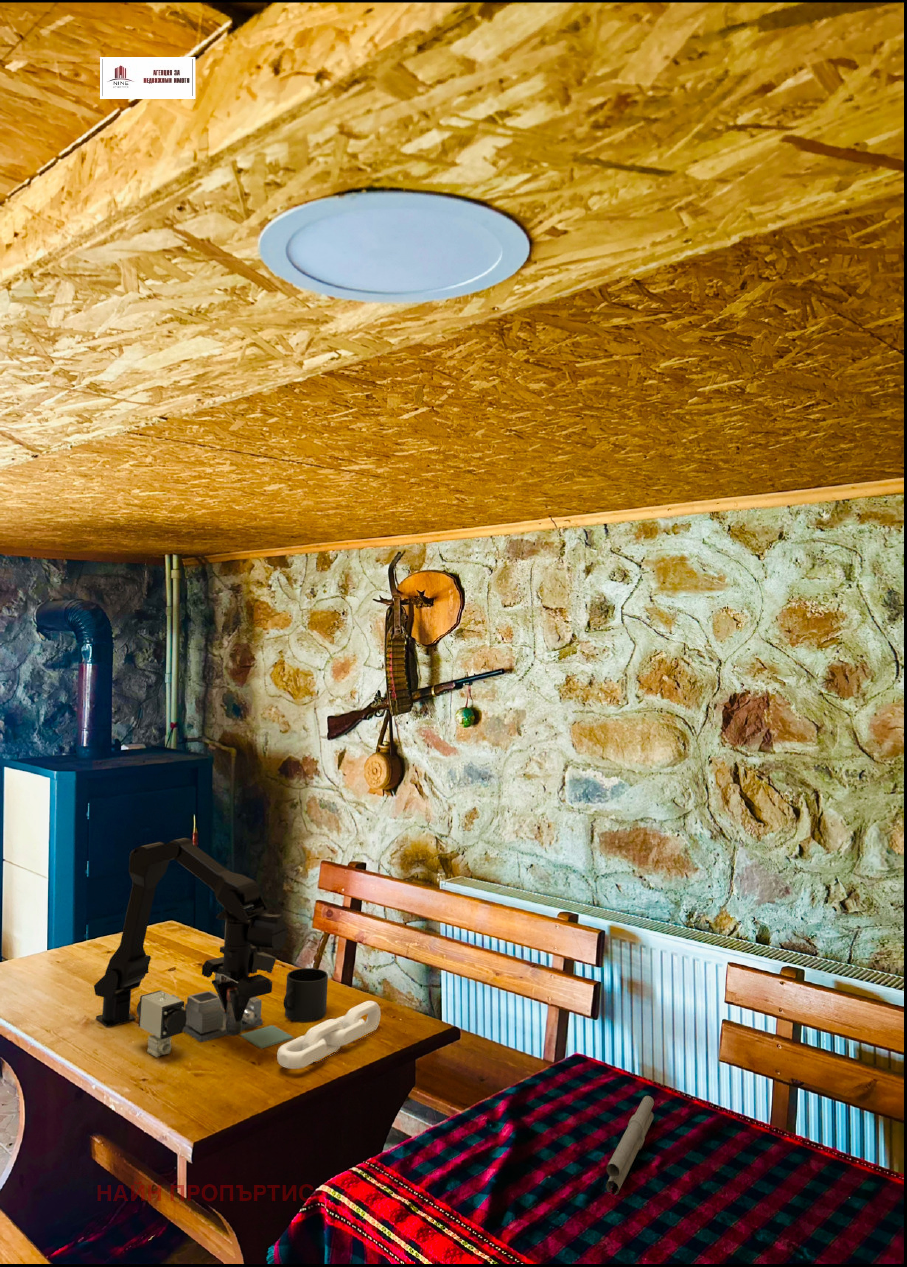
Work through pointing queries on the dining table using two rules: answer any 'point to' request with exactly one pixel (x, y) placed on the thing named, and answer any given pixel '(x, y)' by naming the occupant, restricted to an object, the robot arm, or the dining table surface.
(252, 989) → the robot arm
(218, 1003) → the bracket
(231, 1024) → the round metal peg
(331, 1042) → the chain
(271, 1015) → the dining table surface
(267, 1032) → the mat
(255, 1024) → the clamp base
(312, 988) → the mug
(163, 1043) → the pneumatic valve
